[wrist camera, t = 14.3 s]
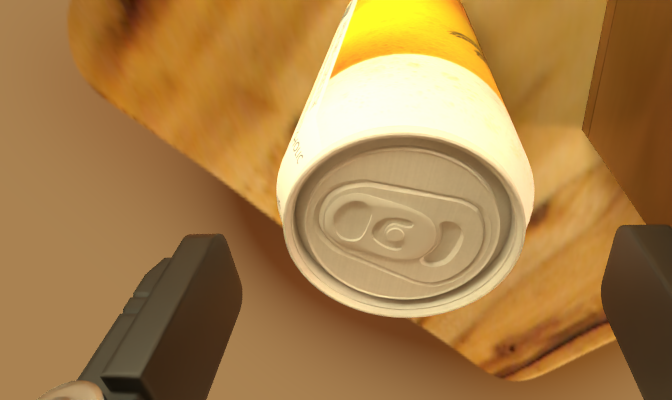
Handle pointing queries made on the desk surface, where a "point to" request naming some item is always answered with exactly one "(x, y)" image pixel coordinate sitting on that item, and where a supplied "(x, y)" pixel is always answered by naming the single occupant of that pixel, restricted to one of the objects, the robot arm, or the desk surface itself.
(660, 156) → the chest
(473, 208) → the beer can
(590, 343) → the desk surface
